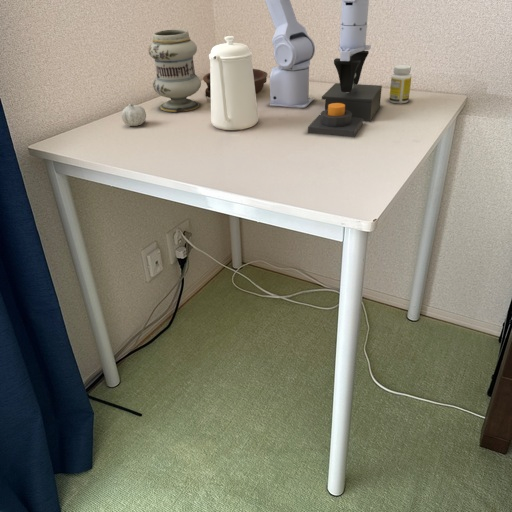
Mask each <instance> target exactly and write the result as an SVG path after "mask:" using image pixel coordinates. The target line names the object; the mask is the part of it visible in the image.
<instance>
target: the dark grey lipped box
mask: <svg viewBox="0 0 512 512" xmlns="http://www.w3.org/2000/svg"><path fill="white" fill-rule="evenodd" d="M382 89H383V88H381V90H380V91H379V93H378V94H377V96H376V97H375V99H374V100H373V101H372V103H371V102H355V101H340V100H325V101H324V111H325V110H328V105H329V104H332V103H342V104H345V110H348V111H350V112H351V113H352V117H356V118H363V122H367V123H369V122H372V120H373V118H374V116H375V115H376V113H377V112H378V110H379V109H380V107H381V100H382V99H381V98H382Z"/></svg>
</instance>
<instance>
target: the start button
mask: <svg viewBox="0 0 512 512" xmlns="http://www.w3.org/2000/svg"><path fill="white" fill-rule="evenodd" d="M328 115H330V116H342V115H345V104H342V103H332V104H329V105H328Z"/></svg>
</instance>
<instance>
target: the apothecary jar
mask: <svg viewBox="0 0 512 512" xmlns="http://www.w3.org/2000/svg"><path fill="white" fill-rule="evenodd" d="M197 52H198V47H197V44H196V42H195V41H194V40H193V39H191V37H190V35H189V31H188V30H186V29H182V28H179V29H176V28H174V29H163V30H159V31H156V32H153V34H152V42H151V43H150V45H149V46H148V55H149V56H150V57H151V59H153V60H154V65H155V72H156V78H155V79H154V80H153V83H152V88H153V90H154V92H155V93H156V94H158V95H159V96H161V97H164V98H168V99H169V100H168V101H166V102H163V103H162V104H161V105H160V110H162V111H164V112H167V113H180V112H188V111H193V110H195V109H197V108H199V103H198V102H197V101H196V100H194V99H193V100H192V99H190V98H188V97H191V96H193V95H195V94H196V93H197V92H198V91H199V89H200V88H201V86H202V81H201V79H200V77H199V76H198V75H197V74H196V70H195V64H194V63H195V62H194V56H195V55H196V54H197Z"/></svg>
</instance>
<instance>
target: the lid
mask: <svg viewBox="0 0 512 512" xmlns="http://www.w3.org/2000/svg"><path fill="white" fill-rule="evenodd" d="M355 77H356V73H355V76H354V78H355ZM381 89H383V85H376V84H361V83H358V84H354V81H353V86H352V90H351V92H341V87H340V82H335V83H334V84H333V85H331V87H330V88H329V89H328V90H327V91H326V92H325V93H324V94H323V95H322V96H321V100H323V101H324V100H340V101H355V102H371V103H372V101H373V100H374V99H375V97H376V96H377V94H378V93H379V91H380V90H381ZM381 91H382V90H381Z"/></svg>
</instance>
